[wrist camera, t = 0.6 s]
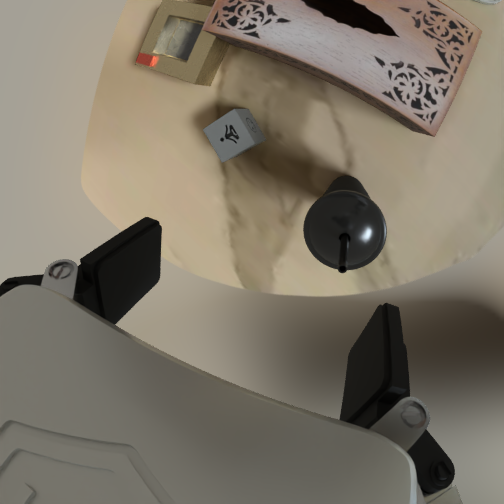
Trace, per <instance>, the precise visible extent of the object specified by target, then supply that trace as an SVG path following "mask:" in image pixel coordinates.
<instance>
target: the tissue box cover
mask: <svg viewBox="0 0 504 504" xmlns="http://www.w3.org/2000/svg"><path fill="white" fill-rule="evenodd" d="M201 30H203V31H205V32H208V33H210V34H212V35H214V36H216V37H218V38H220V39H222V40H224V41H226V42H228V43H230V44H232V45H234V46H237V47H240V48H243V49H247V50H250V51H253V52H256V53H259V54H262V55H265V56H267V57H270V58H273V59H276V60H278V61H281V62H283V63H286V64H288V65H291V66H293V67H296V68H298V69H301V70H303V71H305V72H308V73H310V74H312V75H314V76H317V77H319V78H321V79H323V80H325V81H327V82H329V83H331V84H333V85H335V86H337V87H339V88H341V89H343V90H345V91H347V92H349V93H351V94H353V95H355V96H357V97H358V98H360V99H362V100H364V101H366V102H367V103H369V104H371V105H373V106H374V107H376V108H378V109H379V110H381V111H383V112H384V113H386V114H387V115H389V116H391V117H392V118H394V119H395V120H397V121H399V122H400V123H402V124H403V125H405V126H406V127H408V128H409V129H411V130H412V131H414V132H418V133H422V134H426V135H430V136H433V137H435V135H436V133H437V131H438V129H439V127H440V126H441V124H442V122H443V120H444V118H445V116H446V114H447V112H448V110H449V108H450V106H451V104H452V102H453V100H454V98H455V96H456V93H457V91H458V89H459V87H460V85H461V83H462V80H463V78H464V76H465V74H466V71H467V69H468V67H469V64H470V62H471V59H472V57H473V55H474V52H475V50H476V47H477V44H478V42H479V39H480V36H481V34H482V31H481V30H480V29H479V28H477V27H476V26H475V25H473V24H472V23H471V22H469V21H468V20H467V19H465V18H464V17H463V16H461V15H460V14H458V13H457V12H456V11H454V10H453V9H451V8H450V7H448V6H447V5H445V4H444V3H442V2H440V1H439V0H215V2H214V4H213V6H212V8H211V10H210V12H209V14H208V17H207V19H206V21H205V23H204V25H203V27H202V29H201Z"/></svg>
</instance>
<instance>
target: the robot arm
mask: <svg viewBox="0 0 504 504" xmlns="http://www.w3.org/2000/svg"><path fill="white" fill-rule="evenodd" d="M474 1H477V2H479V3H483V4H496V3H498V2H500V1H501V0H474ZM161 235H162V227H161V225H159V222H158V221H157V220H154V219H152V218H149V217H145V218H143V219H141V220H140V221H138V222H137V223H135V224H133V225H132V226H130V227H128V228H127V229H125V230H124V231H122V232H121V233H119V234H118V235H116V236H114V237H113V238H111V239H110V240H108V241H107V242H105V243H104V244H102V245H101V246H99V247H98V248H96V249H95V250H93V251H92V252H90V253H89V254H87V255H86V256H84V257H83V258H81V259H80V262H81V264H80V265H79V266H77V264H76V263H75V262H74V261H72V260H67V259H63V260H58V261H55V262H53V263H51V264H50V265H49V266H48V267H47V268H46V270H45V273H44V274H43V275H32V276H21V277H13V278H8V279H7V280H5V281H4V282H3V283H2V284H1V285H0V504H463V503H462V501H461V498H460V495H459V492H458V490H457V487H456V486H453V487H452V484H451V483H452V481H453V479H454V475H455V469H454V465H453V463H452V461H451V460H450V458H449V457H448V456H447V454H446V453H445V452H444V451H443V450H442V448H441V447H440V446H439V445H438V443H437V442H436V441H435V439H434V438H433V437H432V436H431V435H430V433H429V432H428V431H427V430H426V429H427V427H428V425H429V422H430V415H429V411H428V409H427V407H426V406H425V404H424V403H423V402H422V401H420V400H419V399H417V398H414V397H410V387H409V372H408V360H407V350H406V346H405V344H404V343H403V334H402V326H401V319H400V312H399V307H397V306H394V305H391V304H388V303H385V304H384V305H379V306H378V307H377V309H376V311H375V312H374V314H373V316H372V317H371V319H370V320H369V322H368V324H367V326H366V327H365V329H364V330H363V332H362V333H361V335H360V336H359V338H358V340H357V341H356V342H355V344H354V345H353V347H352V348H351V350H350V353H349V356H348V364H347V372H346V380H345V388H344V396H343V402H342V409H341V414H340V420H338V419H334V418H331V417H327V416H324V415H320V414H317V413H314V412H311V411H308V410H305V409H302V408H298V407H295V406H293V405H289V404H287V403H284V402H281V401H278V400H275V399H272V398H269V397H267V396H264V395H261V394H259V393H256V392H253V391H251V390H248V389H246V388H243V387H240V386H238V385H236V384H233V383H230V382H228V381H226V380H223V379H221V378H219V377H216V376H214V375H212V374H209V373H207V372H205V371H202V370H201V369H198V368H196V367H194V366H192V365H190V364H188V363H186V362H183V361H181V360H179V359H177V358H175V357H173V356H171V355H169V354H167V353H165V352H163V351H161V350H159V349H157V348H155V347H154V346H151V345H150V344H148V343H146V342H144V341H142V340H140V339H138V338H137V337H135V336H133V335H131V334H129V333H128V332H126V331H124V330H122V329H121V328H119V327H117V326H116V325H115V324H116V323H117V322H118V321H119V320H120V319H121V318H122V317H123V316H124V315H125V314H126V313H127V312H128V311H129V310H130V309H131V308H132V307H133V306H134V305H135V304H136V303H137V302H138V301H139V300H140V299H141V298H142V297H143V296H144V295H145V294H146V293H148V291H150V290H151V289H152V287H154V286H155V285H156V284H157V283H158V281H159V278H160V262H161Z"/></svg>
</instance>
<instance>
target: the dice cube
mask: <svg viewBox="0 0 504 504" xmlns="http://www.w3.org/2000/svg"><path fill="white" fill-rule="evenodd" d="M203 131H204V132H205V134H206V136H207V138H208V139H209V141H210V143H211V144H212V146H213V148H214V150H215V151H216V153H217V155H218V157H219V158H220V160H221V162H225V161H227V160H230V159H232V158H234V157H237V156H238V155H240V154H242V153H244V152H246V151H247V150H249V149H251V148H253V147H255V146H256V145H258V144H260V143H262V142H264V141H266V138H265V137H264V135H263V133H262V131H261V130H260V128H259V126H258V125H257V123H256V121H255V119H254V118H253V116H252V114H251V113H250V111H249V109H233V110H232V111H230V112H229V113H227V114H225V115H224V116H222V117H221V118H219V119H218V120H216V121H215V122H213V123H212V124H210V125H209V126H207V127H206V128H204V129H203Z"/></svg>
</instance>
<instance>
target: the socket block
mask: <svg viewBox="0 0 504 504" xmlns="http://www.w3.org/2000/svg"><path fill="white" fill-rule="evenodd" d="M211 8H212V7H210V6H205V5H200V4H194V3H188V2H182V1H175V0H163V1H162V3H161V5H160V7H159V9H158V11H157V13H156V15H155V17H154V20H153V22H152V24H151V26H150V28H149V31H148V33H147V35H146V38H145V40H144V43H143V45H142V48H141V50H140V52H139V55H138V57H137V60H136V63H135V65H139V66H142V67H145V68H149V69H152V70H155V71H158V72H161V73H164V74H167V75H170V76H173V77H176V78H179V79H182V80H185V81H187V82H190V83H193V84H198V85H206V86H211V83H212V81H213V79H214V77H215V74H216V72H217V70H218V68H219V66H220V64H221V61H222V59H223V57H224V55H225V53H226V51H227V49H228V47H229V45H230V43H228V42H226V41H224V40H222V39H220V38H218V37H216V36H214V35H212V34H210V33H208V32H205V31H203V30H201V29H202V27H203V25H204V23H205V21H206V19H207V17H208V14H209V12H210V10H211Z"/></svg>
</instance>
